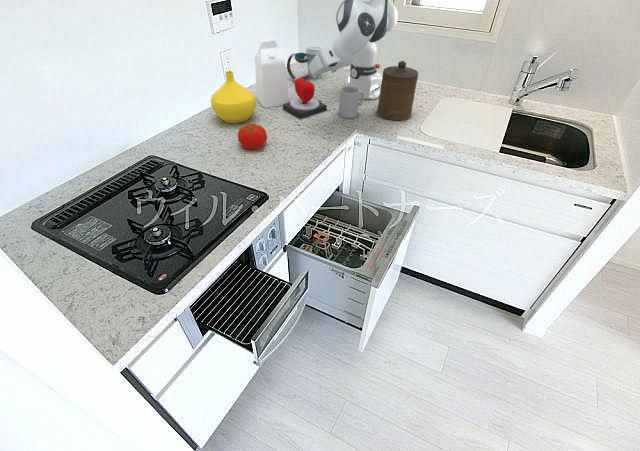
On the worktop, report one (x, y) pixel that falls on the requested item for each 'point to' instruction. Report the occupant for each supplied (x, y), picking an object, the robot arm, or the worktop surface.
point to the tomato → (252, 136)
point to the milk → (270, 75)
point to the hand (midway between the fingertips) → (323, 73)
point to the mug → (350, 101)
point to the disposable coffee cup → (312, 57)
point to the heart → (304, 89)
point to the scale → (304, 107)
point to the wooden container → (397, 92)
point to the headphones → (301, 59)
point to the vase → (233, 101)
